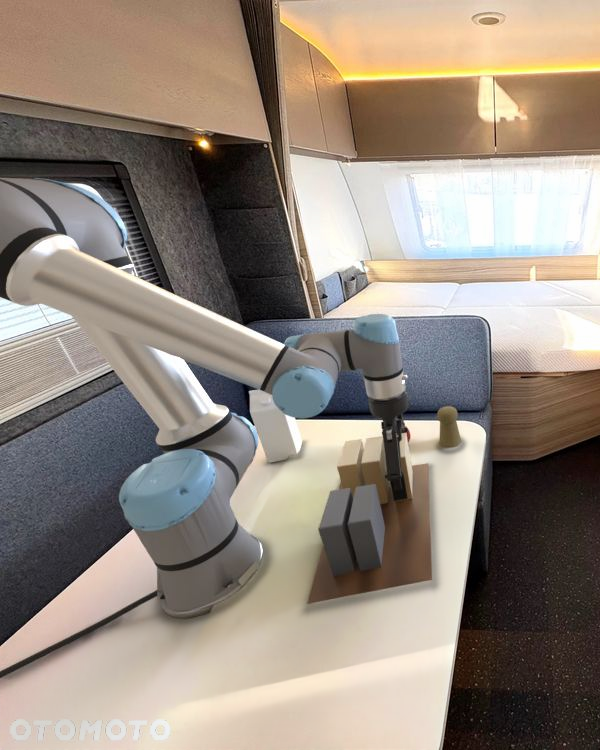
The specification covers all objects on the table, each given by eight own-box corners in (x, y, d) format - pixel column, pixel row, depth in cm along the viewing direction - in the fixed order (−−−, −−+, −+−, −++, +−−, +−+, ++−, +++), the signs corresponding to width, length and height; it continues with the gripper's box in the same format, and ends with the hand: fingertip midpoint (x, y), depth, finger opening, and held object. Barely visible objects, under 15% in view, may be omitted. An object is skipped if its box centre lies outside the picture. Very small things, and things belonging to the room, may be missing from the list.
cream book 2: (370, 505, 81) (360, 463, 77) (374, 477, 89) (366, 438, 85) (388, 502, 82) (379, 461, 77) (390, 475, 90) (383, 435, 85)
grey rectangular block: (360, 571, 67) (347, 524, 62) (366, 530, 75) (355, 486, 70) (381, 567, 68) (370, 520, 63) (385, 527, 76) (375, 483, 71)
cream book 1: (348, 509, 81) (337, 467, 76) (354, 480, 89) (344, 441, 84) (366, 506, 81) (355, 464, 76) (370, 478, 89) (362, 438, 85)
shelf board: (308, 608, 62) (306, 603, 62) (343, 479, 91) (342, 475, 90) (432, 584, 66) (432, 579, 65) (428, 467, 94) (428, 463, 94)
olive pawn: (458, 452, 99) (454, 416, 94) (436, 450, 100) (431, 414, 95) (464, 439, 104) (461, 404, 100) (443, 437, 105) (439, 402, 101)
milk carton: (274, 447, 104) (252, 385, 96) (302, 442, 106) (283, 380, 98) (268, 463, 98) (244, 397, 90) (298, 457, 99) (278, 392, 91)
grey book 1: (333, 576, 66) (318, 529, 62) (342, 534, 74) (329, 490, 70) (354, 572, 67) (341, 525, 62) (361, 531, 75) (350, 487, 70)
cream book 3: (395, 501, 82) (387, 459, 77) (397, 474, 90) (390, 434, 86) (412, 498, 83) (405, 457, 78) (412, 471, 91) (406, 432, 86)
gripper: (404, 422, 66) (419, 515, 75) (407, 366, 88) (419, 442, 97) (358, 428, 65) (379, 522, 74) (374, 369, 87) (388, 447, 96)
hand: (402, 477), depth 85 cm, fingers open, 13 cm apart
